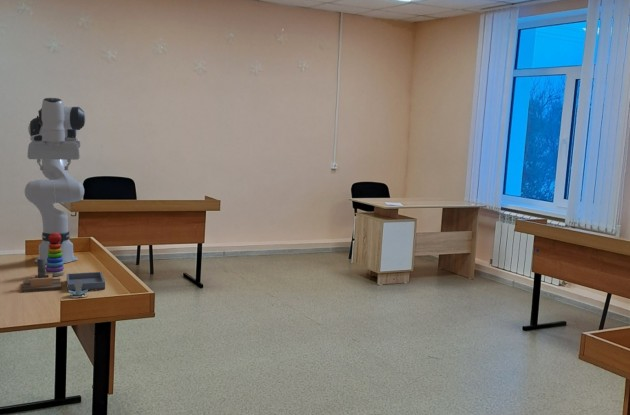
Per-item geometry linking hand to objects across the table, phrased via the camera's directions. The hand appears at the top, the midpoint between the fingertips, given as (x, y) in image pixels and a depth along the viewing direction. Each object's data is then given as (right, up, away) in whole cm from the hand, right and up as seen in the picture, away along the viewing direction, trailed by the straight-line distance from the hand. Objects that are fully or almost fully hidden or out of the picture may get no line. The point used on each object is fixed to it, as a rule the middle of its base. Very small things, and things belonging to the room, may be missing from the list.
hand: (54, 170), depth 262 cm
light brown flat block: (-2, -46, -8) cm, 47 cm away
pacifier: (+18, -50, -21) cm, 57 cm away
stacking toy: (-4, -45, +10) cm, 46 cm away
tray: (+15, -48, -5) cm, 50 cm away
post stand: (-1, -48, -9) cm, 49 cm away
